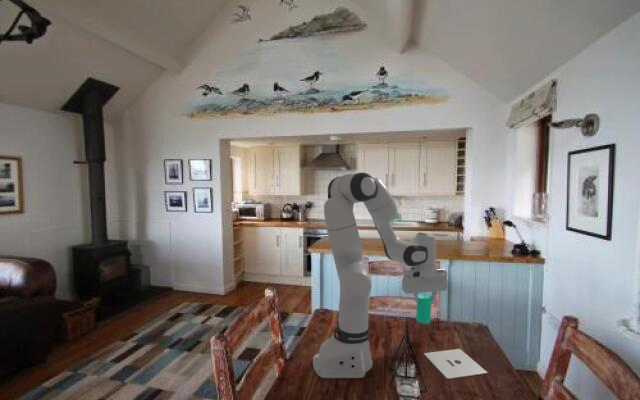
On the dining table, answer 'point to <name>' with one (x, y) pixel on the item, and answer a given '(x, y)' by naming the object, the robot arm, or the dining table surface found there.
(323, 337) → the dining table surface
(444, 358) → the tile
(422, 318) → the candle
